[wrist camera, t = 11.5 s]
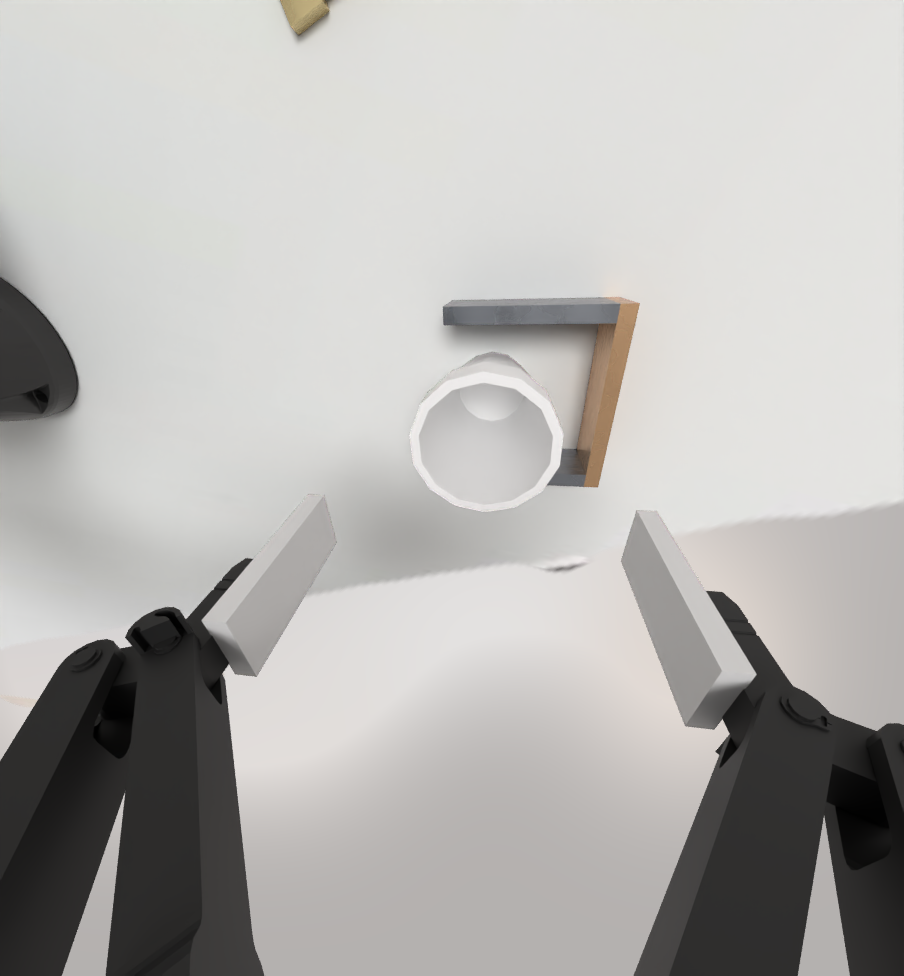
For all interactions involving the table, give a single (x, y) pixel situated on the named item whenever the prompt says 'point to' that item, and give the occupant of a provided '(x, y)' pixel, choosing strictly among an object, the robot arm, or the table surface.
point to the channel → (605, 370)
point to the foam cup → (487, 435)
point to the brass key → (304, 13)
